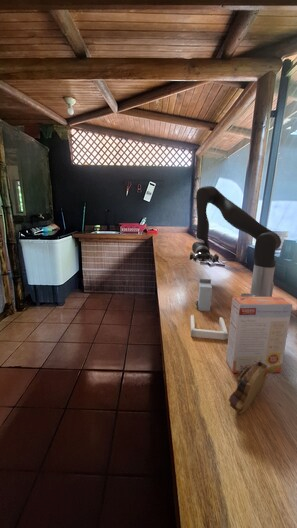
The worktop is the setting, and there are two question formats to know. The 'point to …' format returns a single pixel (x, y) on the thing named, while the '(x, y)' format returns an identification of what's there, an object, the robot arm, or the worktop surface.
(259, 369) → the wooden carving
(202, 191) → the robot arm
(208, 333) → the bay
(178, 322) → the worktop surface
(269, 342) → the cracker box
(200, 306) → the grey tall block
